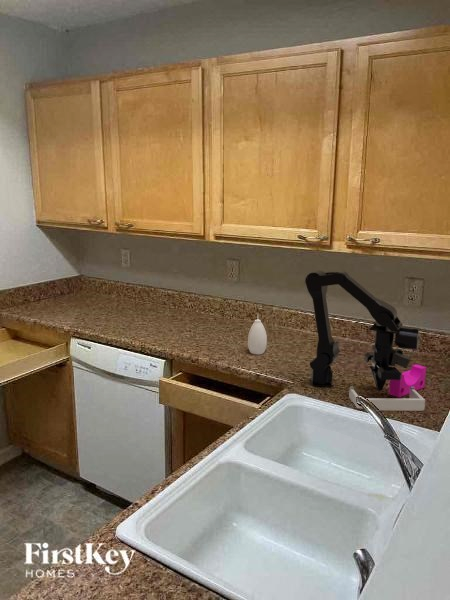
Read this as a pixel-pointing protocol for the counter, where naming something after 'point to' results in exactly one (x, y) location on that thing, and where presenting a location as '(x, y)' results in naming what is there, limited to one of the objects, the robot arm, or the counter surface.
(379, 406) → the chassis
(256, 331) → the sauce bottle
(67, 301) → the counter surface
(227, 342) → the counter surface
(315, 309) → the robot arm
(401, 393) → the toy block
